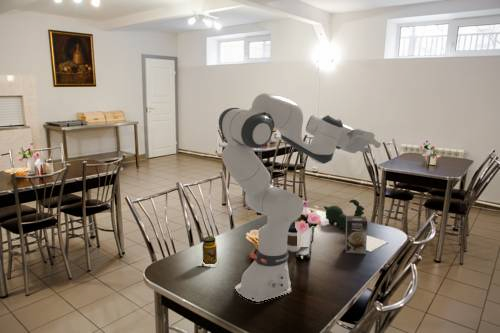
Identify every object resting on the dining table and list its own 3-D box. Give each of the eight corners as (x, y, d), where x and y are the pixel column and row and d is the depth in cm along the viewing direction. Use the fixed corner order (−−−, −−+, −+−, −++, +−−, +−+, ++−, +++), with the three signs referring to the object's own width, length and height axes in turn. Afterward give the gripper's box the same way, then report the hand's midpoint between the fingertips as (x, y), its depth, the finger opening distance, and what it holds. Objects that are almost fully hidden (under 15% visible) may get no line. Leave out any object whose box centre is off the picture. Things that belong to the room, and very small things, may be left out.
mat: (370, 252, 172) (370, 251, 172) (346, 243, 182) (346, 242, 182) (388, 242, 182) (388, 242, 182) (364, 235, 192) (364, 234, 192)
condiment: (216, 268, 158) (215, 241, 156) (196, 267, 159) (195, 241, 156) (219, 260, 165) (218, 235, 163) (200, 259, 166) (199, 234, 163)
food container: (317, 245, 180) (317, 225, 178) (304, 244, 181) (305, 225, 179) (313, 235, 193) (314, 217, 190) (301, 235, 193) (302, 217, 191)
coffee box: (346, 253, 171) (346, 220, 167) (345, 247, 177) (345, 215, 174) (366, 254, 170) (367, 221, 166) (364, 247, 176) (365, 216, 172)
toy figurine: (364, 234, 198) (327, 218, 216) (369, 201, 192) (331, 187, 211) (353, 238, 192) (317, 221, 210) (358, 204, 187) (320, 190, 205)
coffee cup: (308, 247, 178) (309, 224, 175) (298, 256, 169) (299, 231, 166) (288, 242, 183) (289, 219, 181) (277, 250, 175) (278, 226, 172)
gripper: (355, 121, 143) (388, 134, 143) (338, 136, 163) (367, 147, 163) (350, 136, 141) (384, 149, 142) (334, 149, 161) (363, 160, 162)
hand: (375, 148), depth 152 cm, fingers open, 8 cm apart
